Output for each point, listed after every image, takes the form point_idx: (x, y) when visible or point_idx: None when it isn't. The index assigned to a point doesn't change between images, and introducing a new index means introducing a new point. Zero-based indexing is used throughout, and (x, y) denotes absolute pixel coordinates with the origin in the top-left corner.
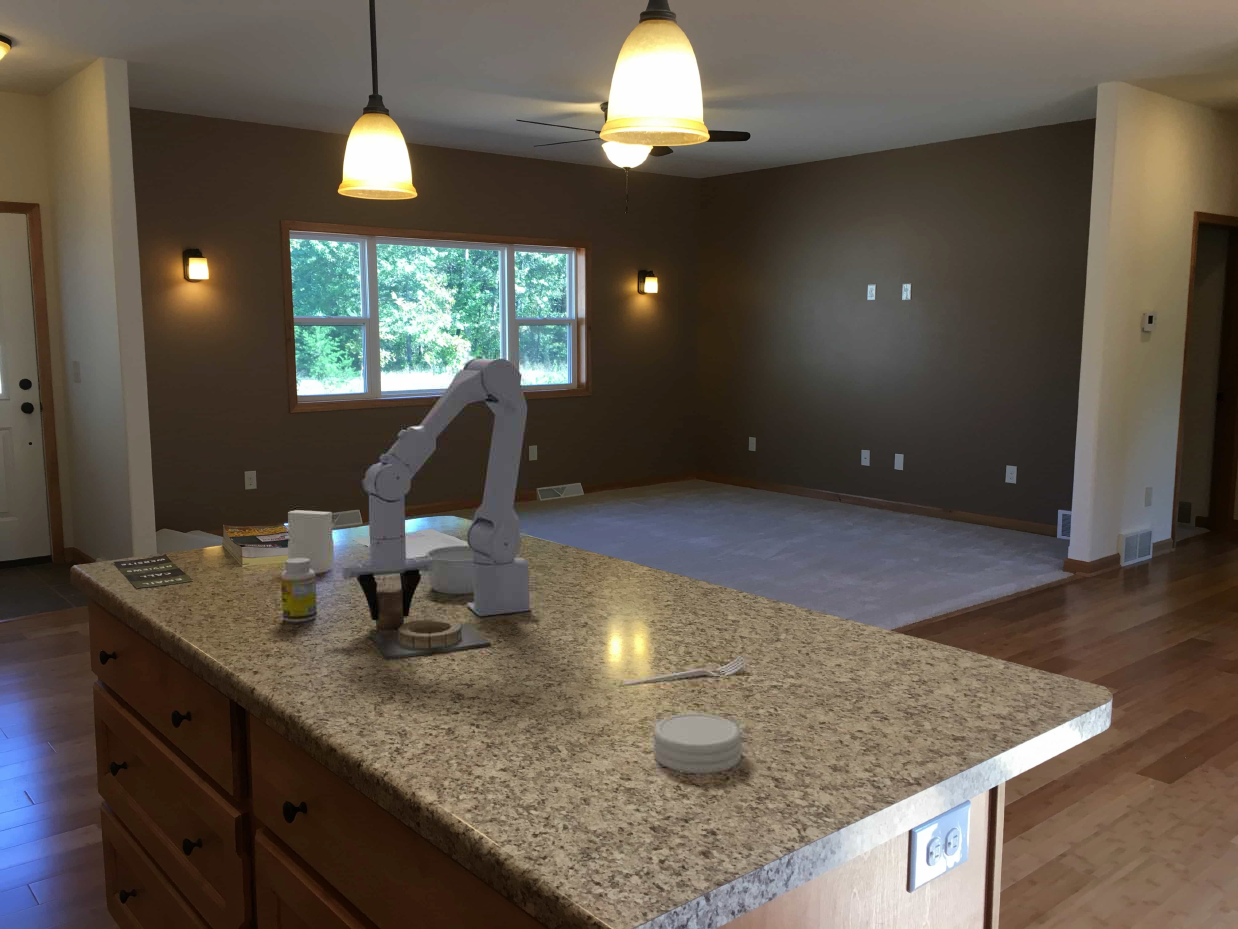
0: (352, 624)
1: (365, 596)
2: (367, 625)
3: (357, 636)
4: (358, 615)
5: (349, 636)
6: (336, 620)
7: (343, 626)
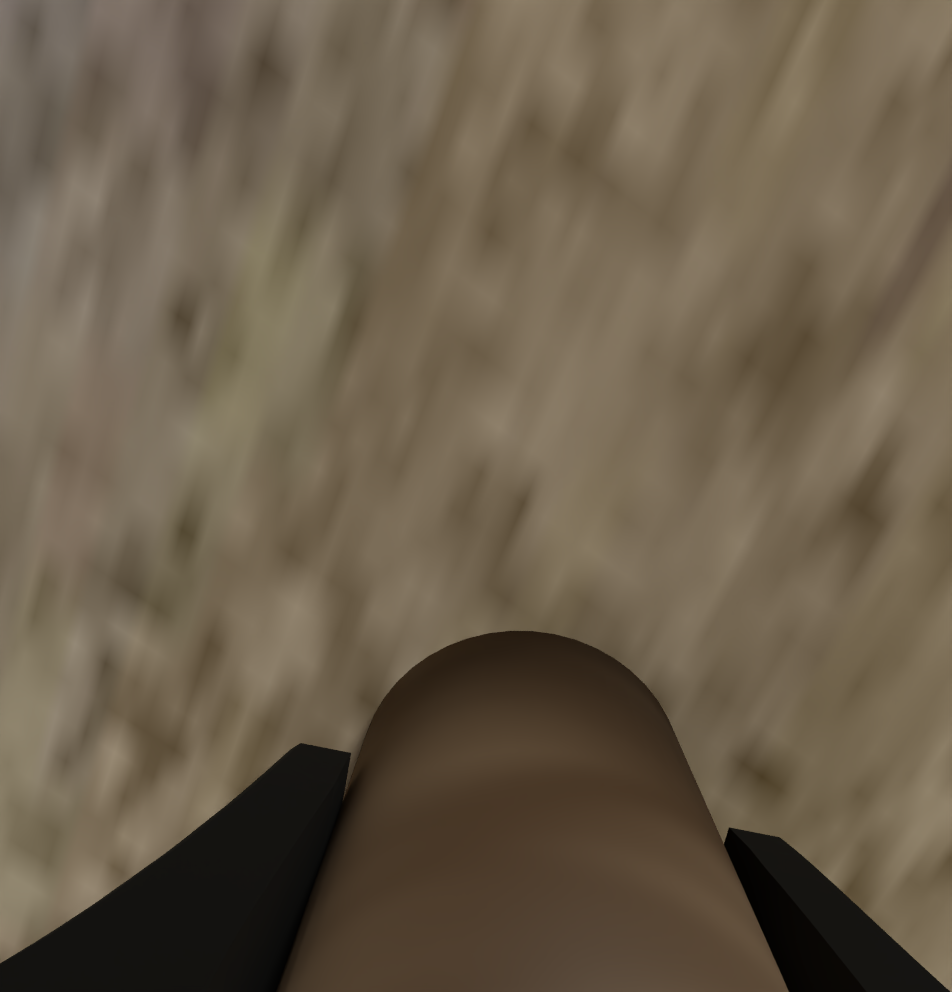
0: (170, 429)
1: (46, 942)
2: (316, 580)
3: (90, 895)
4: (379, 19)
5: (16, 850)
6: (31, 102)
7: (48, 448)
